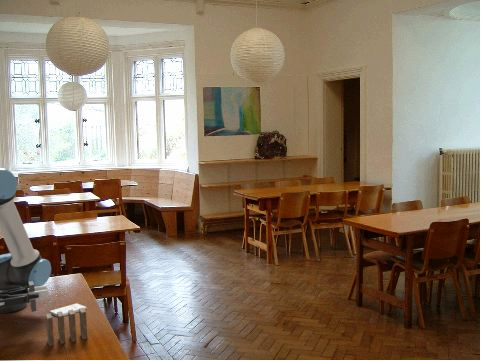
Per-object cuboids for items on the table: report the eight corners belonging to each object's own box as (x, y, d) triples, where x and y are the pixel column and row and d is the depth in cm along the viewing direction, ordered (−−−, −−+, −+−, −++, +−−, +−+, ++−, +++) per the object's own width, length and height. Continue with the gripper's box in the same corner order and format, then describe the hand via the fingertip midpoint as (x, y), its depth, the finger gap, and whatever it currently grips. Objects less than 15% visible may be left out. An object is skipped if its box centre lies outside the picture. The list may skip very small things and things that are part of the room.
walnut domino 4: (83, 339, 189) (81, 312, 188) (80, 335, 193) (79, 308, 192) (87, 338, 189) (85, 311, 188) (85, 334, 194) (83, 307, 193)
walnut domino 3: (71, 341, 187) (70, 314, 186) (69, 337, 191) (68, 310, 190) (76, 340, 188) (74, 313, 187) (74, 336, 192) (72, 309, 191)
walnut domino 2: (60, 344, 185) (58, 316, 184) (58, 339, 190) (57, 312, 189) (65, 343, 186) (63, 315, 185) (63, 338, 190) (61, 311, 190)
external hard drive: (49, 314, 218) (76, 306, 227) (59, 318, 212) (86, 310, 221) (49, 310, 218) (76, 302, 227) (58, 314, 212) (86, 306, 221)
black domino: (31, 311, 194) (29, 285, 192) (30, 307, 198) (28, 281, 197) (36, 310, 194) (34, 284, 193) (35, 306, 199) (32, 281, 198)
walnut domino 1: (49, 346, 184) (47, 318, 183) (47, 341, 188) (45, 314, 187) (54, 345, 184) (52, 317, 183) (52, 340, 189) (50, 313, 188)
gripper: (-21, 305, 196) (45, 294, 206) (-21, 320, 180) (50, 307, 190) (-23, 285, 195) (44, 275, 205) (-24, 299, 179) (49, 287, 189)
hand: (47, 291), depth 198 cm, fingers closed on black domino, 5 cm apart
